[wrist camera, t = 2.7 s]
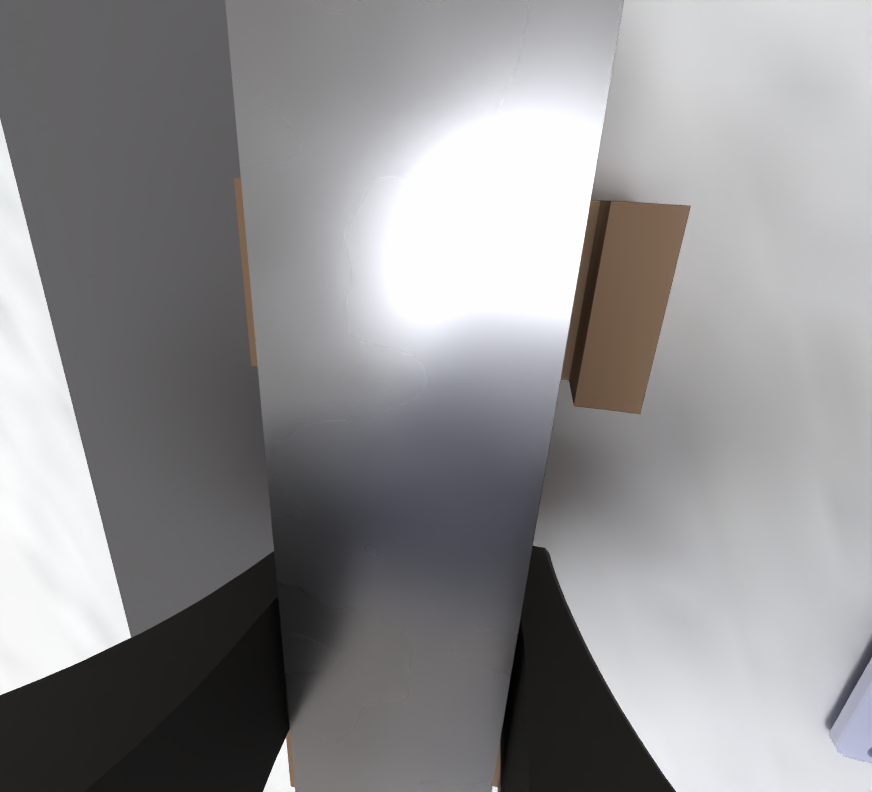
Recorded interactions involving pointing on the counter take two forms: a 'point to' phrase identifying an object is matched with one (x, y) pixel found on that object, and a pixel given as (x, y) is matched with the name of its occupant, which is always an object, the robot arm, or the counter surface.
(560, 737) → the robot arm
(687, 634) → the counter surface
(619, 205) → the stand
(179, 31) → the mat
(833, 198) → the counter surface
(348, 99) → the rail
